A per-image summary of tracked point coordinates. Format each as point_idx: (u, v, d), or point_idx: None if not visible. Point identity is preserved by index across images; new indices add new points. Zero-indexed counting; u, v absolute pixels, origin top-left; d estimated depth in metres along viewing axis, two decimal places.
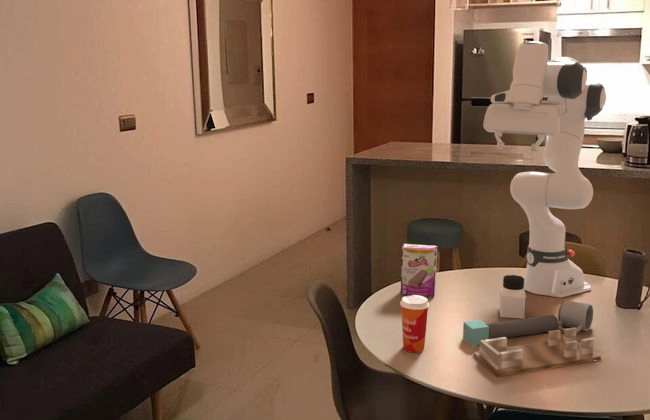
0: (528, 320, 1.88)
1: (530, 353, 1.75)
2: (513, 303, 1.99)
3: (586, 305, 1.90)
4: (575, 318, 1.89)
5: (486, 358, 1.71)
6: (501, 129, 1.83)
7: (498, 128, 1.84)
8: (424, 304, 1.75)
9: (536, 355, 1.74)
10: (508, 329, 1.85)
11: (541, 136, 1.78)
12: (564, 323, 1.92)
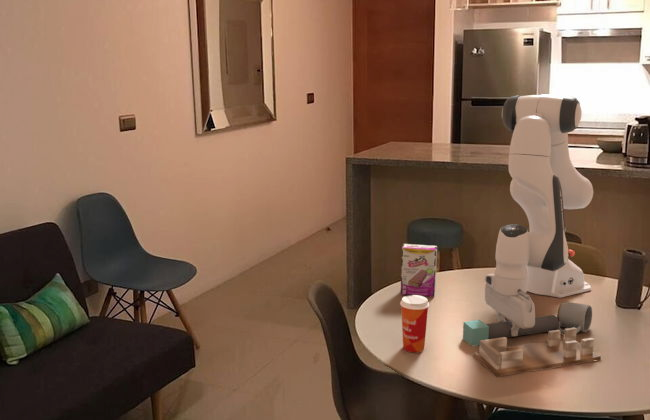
0: None
1: (530, 353, 1.75)
2: None
3: (585, 306, 1.89)
4: (574, 319, 1.89)
5: (486, 358, 1.71)
6: None
7: (492, 307, 1.91)
8: (424, 304, 1.75)
9: (536, 355, 1.74)
10: (508, 329, 1.85)
11: (514, 324, 1.82)
12: (563, 324, 1.92)
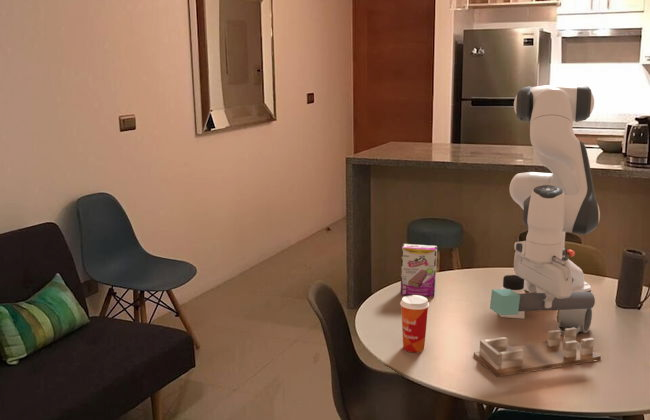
0: None
1: (530, 353, 1.75)
2: None
3: None
4: (574, 320, 1.88)
5: (486, 358, 1.71)
6: (525, 279, 1.74)
7: (523, 277, 1.75)
8: (424, 304, 1.75)
9: (536, 355, 1.74)
10: (540, 301, 1.69)
11: (547, 295, 1.66)
12: (563, 325, 1.91)
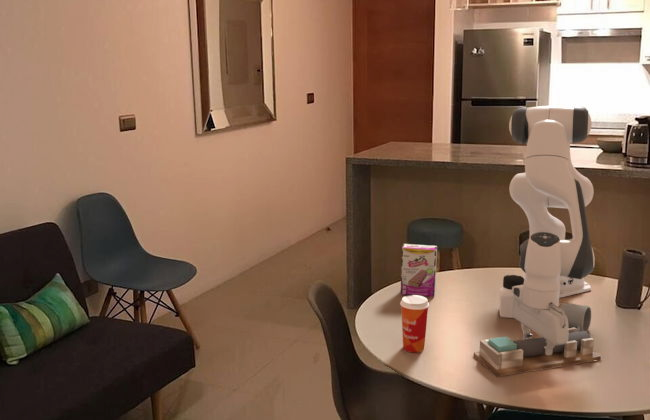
0: None
1: None
2: None
3: (584, 307, 1.88)
4: (573, 320, 1.88)
5: (486, 358, 1.71)
6: (522, 323, 1.77)
7: (520, 321, 1.78)
8: (424, 304, 1.75)
9: None
10: (536, 347, 1.72)
11: (548, 343, 1.67)
12: None
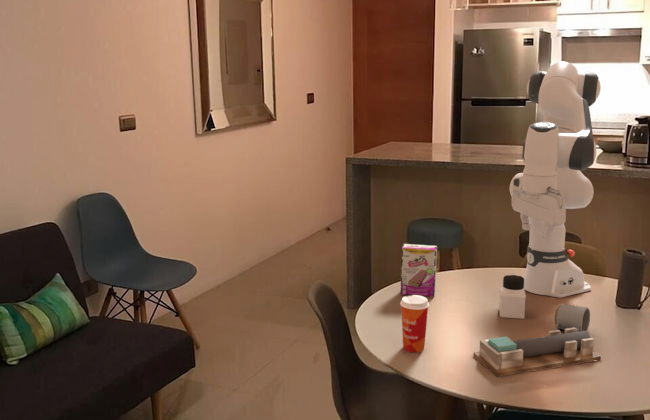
0: (558, 337, 1.75)
1: None
2: (513, 303, 1.99)
3: (583, 308, 1.87)
4: (572, 322, 1.87)
5: (486, 358, 1.71)
6: (522, 212, 1.86)
7: (520, 211, 1.86)
8: (424, 304, 1.75)
9: None
10: (536, 347, 1.72)
11: (547, 226, 1.76)
12: (561, 327, 1.90)
